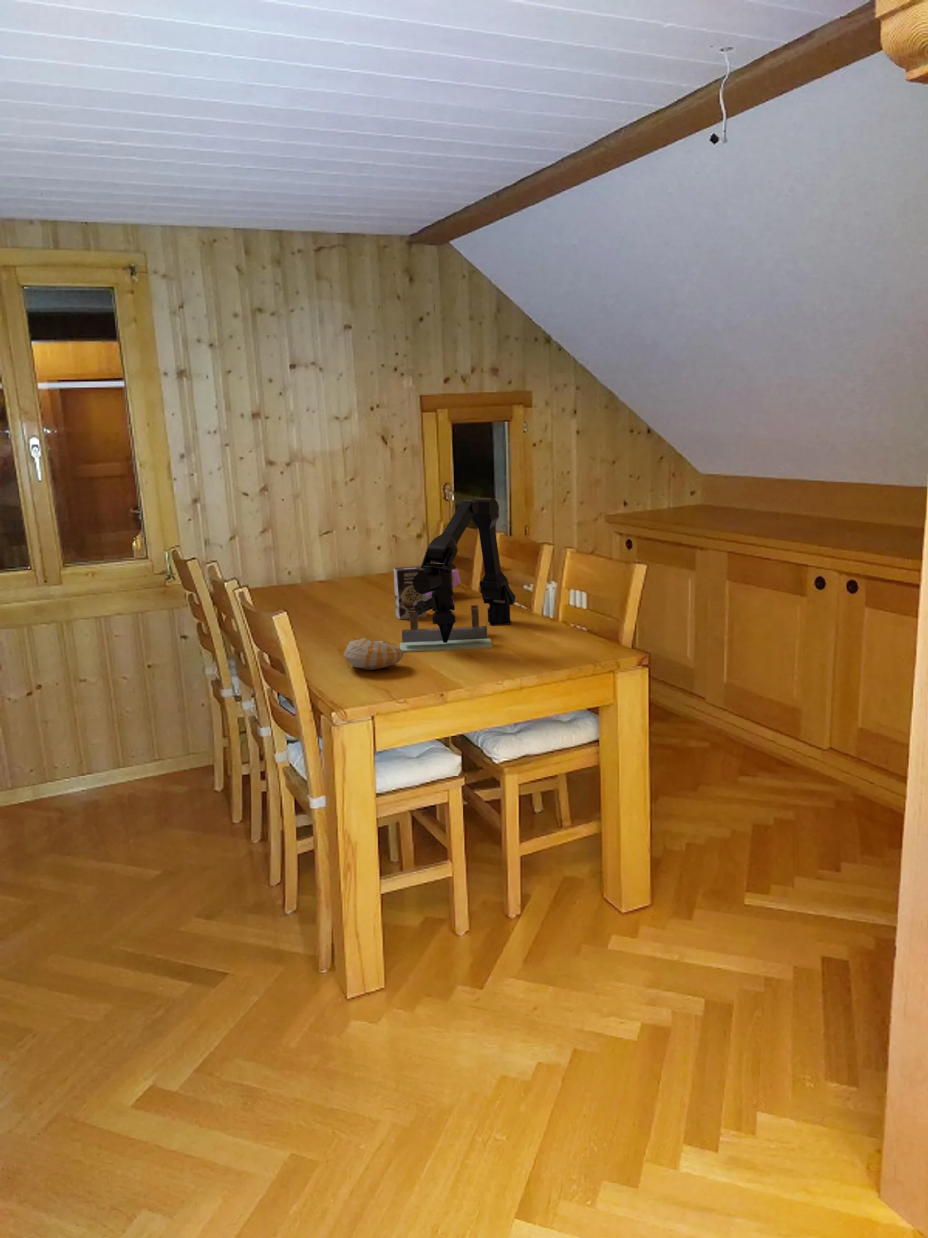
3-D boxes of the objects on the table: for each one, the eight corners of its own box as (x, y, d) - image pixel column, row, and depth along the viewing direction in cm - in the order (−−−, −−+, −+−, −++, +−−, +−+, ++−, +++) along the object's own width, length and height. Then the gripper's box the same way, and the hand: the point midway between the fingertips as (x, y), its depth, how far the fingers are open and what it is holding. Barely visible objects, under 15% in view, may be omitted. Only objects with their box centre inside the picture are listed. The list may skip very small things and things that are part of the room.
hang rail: (486, 636, 267) (486, 625, 266) (487, 638, 264) (487, 628, 263) (402, 639, 267) (402, 629, 266) (402, 642, 264) (401, 632, 263)
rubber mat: (490, 640, 270) (490, 638, 270) (491, 648, 262) (491, 646, 261) (400, 644, 270) (400, 642, 270) (398, 652, 261) (398, 650, 261)
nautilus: (333, 661, 257) (386, 657, 262) (352, 677, 237) (409, 672, 242) (332, 633, 255) (385, 629, 261) (351, 646, 236) (408, 641, 241)
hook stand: (481, 631, 280) (480, 603, 278) (483, 638, 273) (481, 609, 271) (408, 634, 280) (407, 607, 278) (407, 641, 272) (406, 613, 270)
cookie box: (399, 620, 299) (396, 570, 296) (395, 615, 305) (392, 567, 302) (427, 617, 302) (424, 568, 298) (422, 613, 308) (420, 564, 304)
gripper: (414, 582, 271) (417, 634, 274) (412, 595, 253) (415, 651, 256) (453, 580, 271) (455, 632, 275) (454, 593, 253) (456, 649, 256)
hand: (445, 641), depth 265 cm, fingers closed on hang rail, 3 cm apart
